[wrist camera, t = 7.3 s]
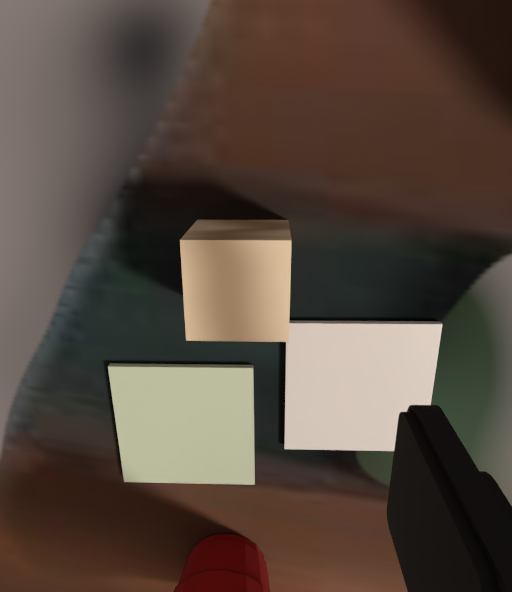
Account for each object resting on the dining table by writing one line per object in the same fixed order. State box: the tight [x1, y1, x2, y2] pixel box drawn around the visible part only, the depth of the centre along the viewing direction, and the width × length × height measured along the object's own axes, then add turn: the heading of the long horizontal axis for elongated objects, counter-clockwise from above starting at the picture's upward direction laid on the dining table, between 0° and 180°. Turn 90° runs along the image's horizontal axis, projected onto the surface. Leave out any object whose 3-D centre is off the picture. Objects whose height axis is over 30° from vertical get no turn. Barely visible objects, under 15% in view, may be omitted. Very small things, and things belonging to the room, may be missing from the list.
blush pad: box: [284, 321, 442, 451], centre depth 27 cm, size 9×9×1 cm
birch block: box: [180, 220, 291, 342], centre depth 23 cm, size 5×5×5 cm
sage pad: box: [108, 363, 255, 485], centre depth 29 cm, size 9×9×1 cm
